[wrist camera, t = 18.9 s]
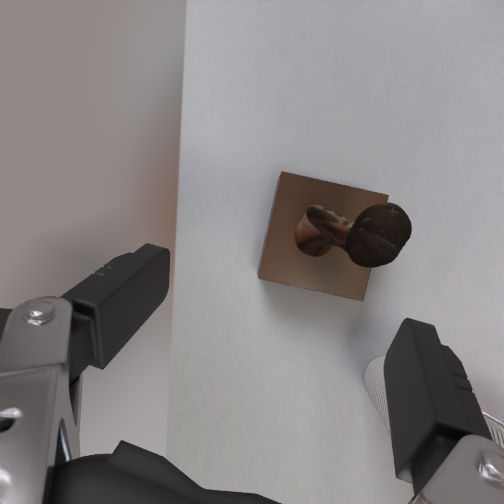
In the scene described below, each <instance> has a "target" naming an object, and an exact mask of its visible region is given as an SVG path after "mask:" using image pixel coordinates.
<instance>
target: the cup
mask: <svg viewBox="0 0 504 504" xmlns="http://www.w3.org/2000/svg"><path fill="white" fill-rule="evenodd" d="M385 357H386V355H382V356H379V357H376V358H374V359H373V360H372V361H370V362H369V364H368V365H367V367H366V369H365V370H364V377H363V381H364V385H365V388H366V390H367V392H368V394H369V396H370V397H371V399H372V401H373V403H374V405H375V407H376V409H377V410H378V412H379V414H380V416H381V418H382V420H383V421H384V423H385V425H386V427H387V429H388V431H389V433H390V434H391V431H390V423H389V415H388V406H387V398H386V390H385V381H384V373H383V367H384V360H385ZM481 411H482V414H483V416H484V419H485V421H486V423H487V426H488V428H489V431H490V433H491V436H492V438H493V440H494V442H495V443H497V444H498V445H500V446H501V447H503V448H504V424H503V423H502V422H500V421H498V420H497V419H495V418H494V417H492V416H490V415H489V414H487V413H486V412H484V411H483V410H481Z"/></svg>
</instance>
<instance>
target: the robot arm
mask: <svg viewBox="0 0 504 504" xmlns="http://www.w3.org/2000/svg"><path fill="white" fill-rule="evenodd" d="M169 272H170V251H169V250H168V249H167V248H163V247H160V246H156V245H153V244H149V243H147V244H145V245H144V246H142V247H141V248H139V249H138V250H137V251H135V252H134V253H130V252H129V253H127V254H124V255H121V256H118V257H116V258H114V259H112V260H111V261H110V262H108V263H107V264H105V265H104V267H101V268H100V269H99V270H97V271H96V272H95V274H91V275H90V276H89V277H87V278H86V279H85V280H83V281H82V282H80V283H79V284H78V285H76V286H75V287H74V288H72V289H71V290H69V291H68V292H67V293H65V294H64V295H62V296H61V297H55V296H46V297H38V298H34V299H31V300H28V301H26V302H24V303H22V304H20V305H19V306H17V307H16V308H15V309H2V308H0V504H281V503H278V502H276V501H273V500H271V499H268V498H266V497H263V496H261V495H258V494H254V493H242V492H231V491H219V490H208V489H204V488H202V487H200V486H199V485H198V484H196V483H195V482H194V481H193V480H191V479H190V478H189V477H188V476H186V475H185V474H184V473H183V472H182V471H180V470H179V469H178V468H177V467H175V466H174V465H173V464H172V463H170V462H169V461H168V460H167V459H165V458H164V457H163V456H160V455H158V454H155V453H153V452H150V451H148V450H145V449H143V448H140V447H138V446H135V445H133V444H130V443H127V442H125V441H122V440H121V441H120V443H119V444H118V446H117V447H116V449H115V450H114V452H113V453H112V454H95V455H89V456H84V457H80V445H79V432H80V431H79V430H80V414H81V397H82V372H83V371H84V370H85V369H86V367H88V365H91V366H94V367H97V368H100V369H102V370H103V369H104V368H105V367H106V366H107V365H108V364H109V362H110V361H111V360H112V359H113V358H114V357H115V356H116V354H117V353H118V352H119V351H120V350H121V349H122V348H123V346H124V345H125V344H126V343H127V342H128V341H129V340H130V338H131V337H132V336H133V335H134V334H135V333H136V332H137V331H138V329H139V328H140V327H141V326H142V325H143V324H144V322H145V321H146V320H147V319H148V318H149V317H150V316H151V314H152V313H153V312H154V311H155V310H156V309H157V308H158V307H159V305H160V304H161V303H162V302H163V301H164V299H165V297H166V295H167V292H168V289H169ZM383 373H384V381H385V390H386V398H387V406H388V415H389V423H390V431H391V440H392V448H393V456H394V465H395V473H396V478H398V479H401V480H404V481H406V482H409V483H412V484H413V489H414V496H413V498H412V499H411V500H410V501H409V503H408V504H504V448H503V447H501V446H500V445H498V444H497V443H495V442H494V440H493V438H492V436H491V433H490V431H489V428H488V426H487V423H486V421H485V419H484V416H483V414H482V411H481V409H480V406H479V404H478V401H477V399H476V397H475V394H474V393H472V390H473V389H472V387H471V384H470V382H469V380H467V375H466V372H465V370H464V367H463V365H462V362H461V361H460V360H459V358H458V357H457V356H456V355H455V354H454V353H453V351H452V350H451V349H450V348H449V347H448V346H445V345H441V343H440V340H439V337H438V334H437V331H436V329H435V327H434V325H431V324H428V323H424V322H421V321H417V320H414V319H410V318H406V319H404V321H403V322H402V324H401V326H400V328H399V330H398V332H397V334H396V336H395V338H394V340H393V342H392V344H391V345H390V347H389V349H388V351H387V354H386V357H385V360H384V367H383Z"/></svg>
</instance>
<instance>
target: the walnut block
mask: <svg viewBox="0 0 504 504" xmlns="http://www.w3.org/2000/svg"><path fill="white" fill-rule="evenodd" d="M388 196H389V195H386V194H382V193H377V192H373V191H368V190H364V189H359V188H355V187H350V186H346V185H341V184H337V183H332V182H328V181H323V180H319V179H314V178H310V177H305V176H301V175H296V174H292V173H287V172H283V171H282V172H281V174H280V176H279V179H278V182H277V186H276V191H275V195H274V200H273V204H272V209H271V213H270V218H269V222H268V227H267V231H266V236H265V240H264V245H263V249H262V254H261V258H260V263H259V267H258V272H257V274H258V278H259V279H264V280H268V281H273V282H277V283H282V284H286V285H291V286H296V287H300V288H305V289H309V290H314V291H318V292H323V293H327V294H332V295H336V296H341V297H346V298H350V299H355V300H359V301H363V300H364V296H365V292H366V288H367V284H368V280H369V275H370V271H371V267H370V268H367V267H362V266H359V265H357V264H355V263H354V262H353V261H352V260H351V259H350V258H349V255H348V253H347V252H346V251H344V250H343V249H342V248H340V247H337V246H333V247H332V249H331V250H330V251H329V252H328V253H326V254H325V255H323V256H319V257H314V256H310V255H307V254H305V253H303V252H301V251H300V250H299V248H298V247H297V244H296V241H295V235H294V233H295V229H296V227H297V225H298V224H299V222H300V220H301V219H302V217H303V216H304V215H305V214H306V213H307V209H308V207H309V206H311V205H320V206H322V207H324V208H327V209H328V210H330V211H336V212H338V213H340V214H342V215H343V217H344V218H345V219H346V220H347V221H350V222H355V220H356V218H357V217H358V215H359V214H360V213H361V212H363V211H364V210H365V209H366V208H368V207H370V206H373V205H377V204H383V203H387V201H388Z"/></svg>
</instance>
